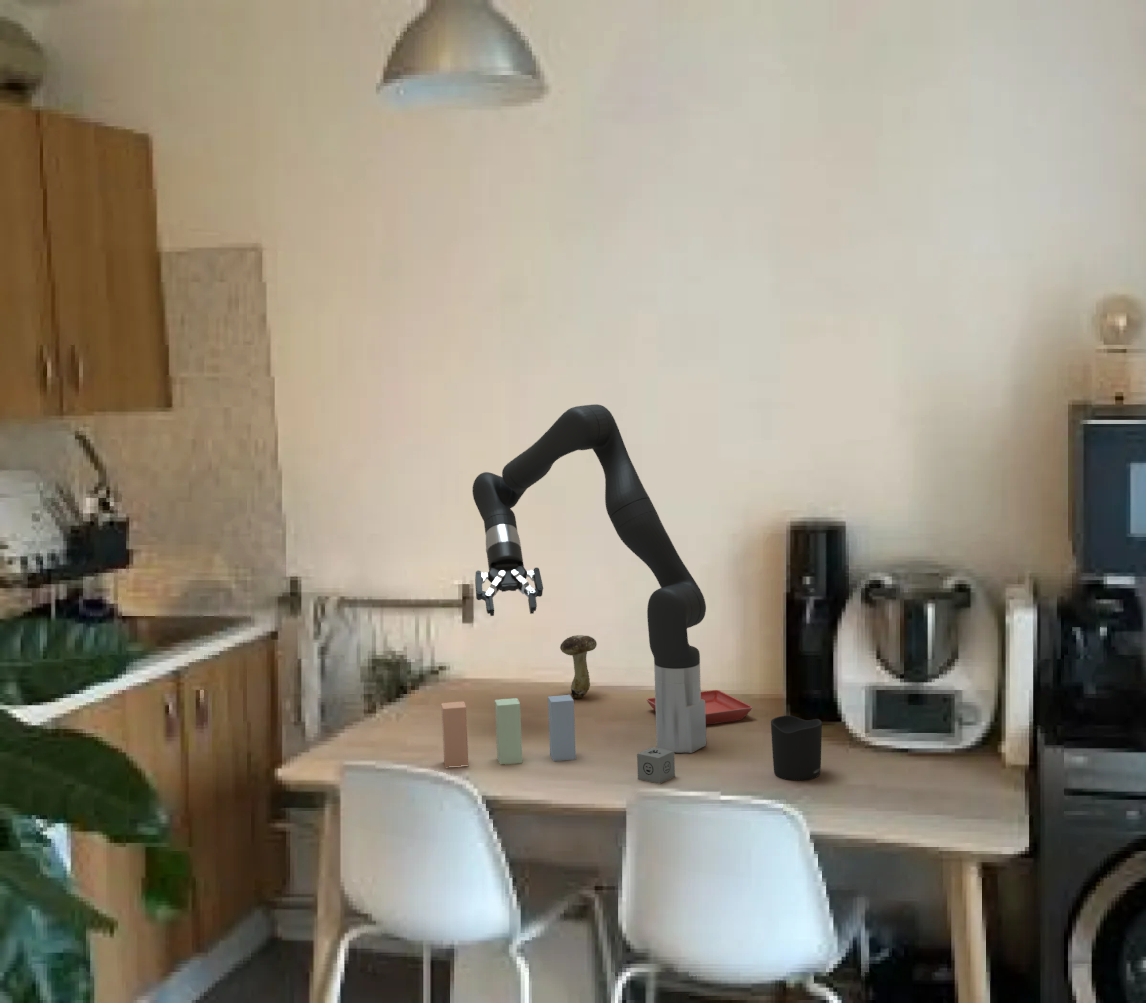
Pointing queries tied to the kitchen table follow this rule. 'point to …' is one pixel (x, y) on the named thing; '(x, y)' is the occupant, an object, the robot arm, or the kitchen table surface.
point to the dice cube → (656, 765)
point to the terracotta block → (455, 734)
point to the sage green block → (508, 731)
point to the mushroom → (579, 662)
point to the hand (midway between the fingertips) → (512, 612)
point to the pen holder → (796, 747)
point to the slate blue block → (561, 727)
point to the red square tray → (719, 707)
